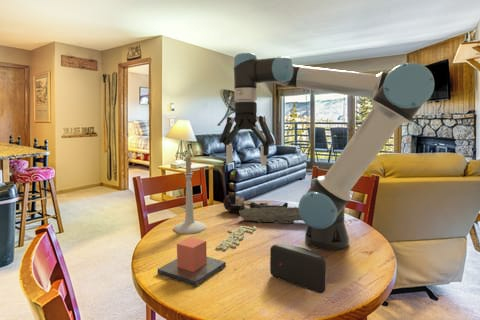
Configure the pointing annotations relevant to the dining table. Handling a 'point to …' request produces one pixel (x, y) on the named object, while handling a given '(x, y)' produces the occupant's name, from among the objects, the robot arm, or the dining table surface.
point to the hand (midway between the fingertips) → (246, 164)
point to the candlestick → (189, 208)
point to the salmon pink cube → (191, 254)
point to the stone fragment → (271, 214)
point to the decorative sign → (236, 235)
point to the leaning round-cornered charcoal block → (298, 266)
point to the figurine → (244, 204)
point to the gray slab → (189, 276)
